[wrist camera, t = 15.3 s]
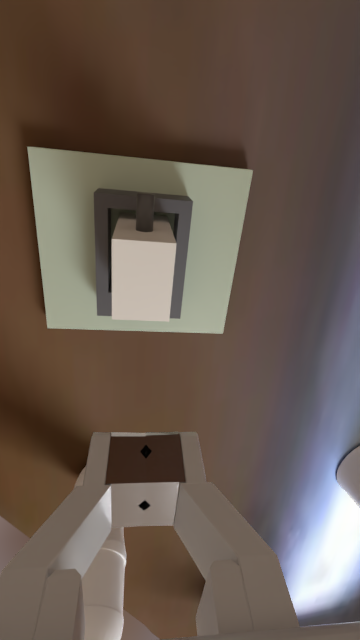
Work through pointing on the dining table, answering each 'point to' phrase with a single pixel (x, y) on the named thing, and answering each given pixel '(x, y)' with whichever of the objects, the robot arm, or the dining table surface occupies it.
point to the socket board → (99, 224)
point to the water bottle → (105, 587)
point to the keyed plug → (142, 264)
